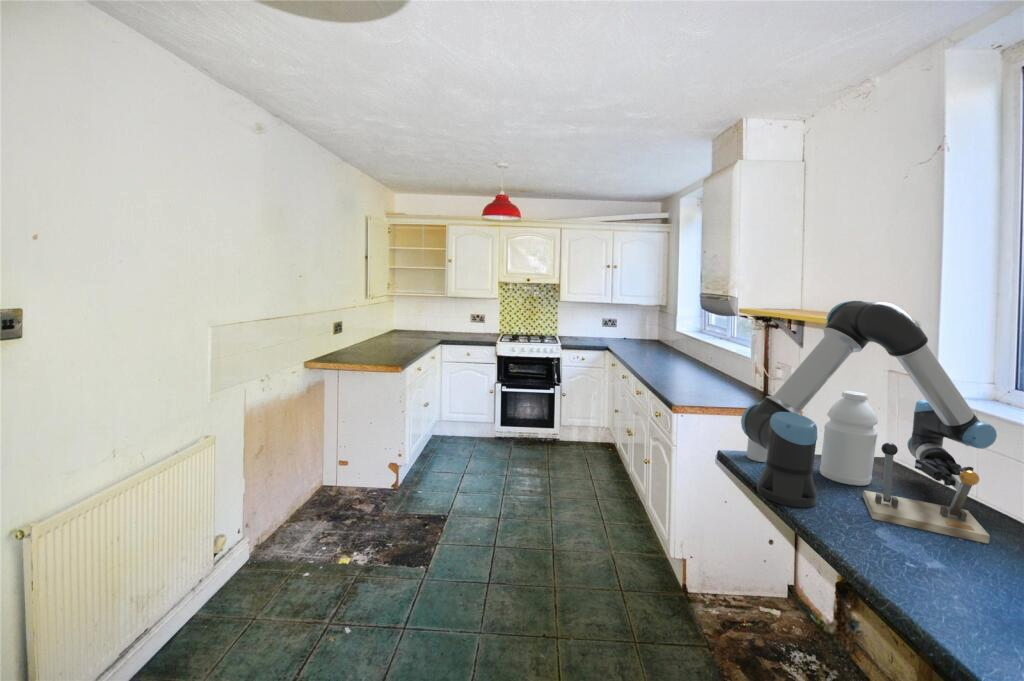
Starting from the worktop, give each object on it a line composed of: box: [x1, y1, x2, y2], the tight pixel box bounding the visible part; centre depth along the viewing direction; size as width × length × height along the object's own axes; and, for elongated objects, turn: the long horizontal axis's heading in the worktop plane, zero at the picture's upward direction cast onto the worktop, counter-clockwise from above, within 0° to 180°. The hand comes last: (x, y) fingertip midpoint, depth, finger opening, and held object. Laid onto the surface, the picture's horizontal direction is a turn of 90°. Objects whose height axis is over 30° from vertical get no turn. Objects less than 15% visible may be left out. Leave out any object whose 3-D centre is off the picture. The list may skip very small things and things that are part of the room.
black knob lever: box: [880, 442, 899, 503], centre depth 135 cm, size 4×4×16 cm
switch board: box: [862, 489, 991, 544], centre depth 130 cm, size 23×16×4 cm
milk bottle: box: [746, 401, 768, 463], centre depth 170 cm, size 8×8×20 cm
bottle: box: [819, 390, 879, 486], centre depth 156 cm, size 14×14×28 cm
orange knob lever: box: [948, 470, 980, 516], centre depth 123 cm, size 4×4×16 cm
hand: (963, 488), depth 124 cm, fingers closed
